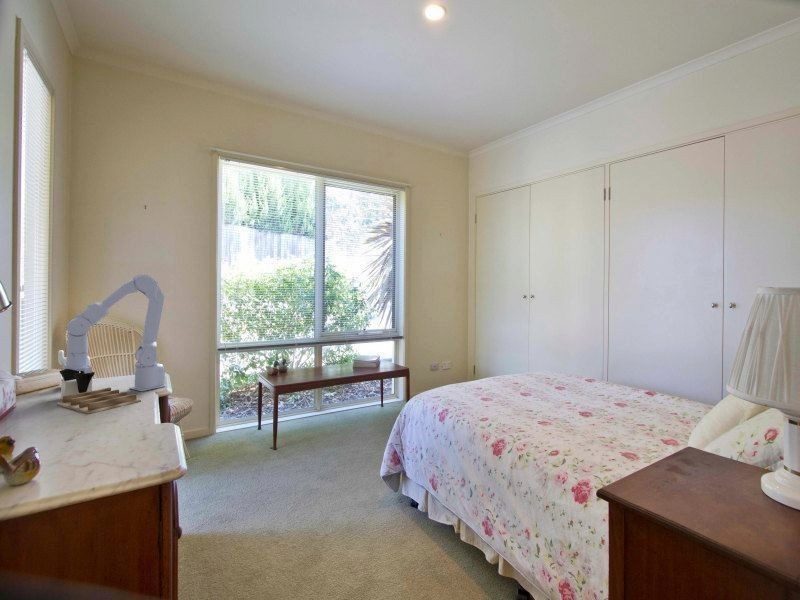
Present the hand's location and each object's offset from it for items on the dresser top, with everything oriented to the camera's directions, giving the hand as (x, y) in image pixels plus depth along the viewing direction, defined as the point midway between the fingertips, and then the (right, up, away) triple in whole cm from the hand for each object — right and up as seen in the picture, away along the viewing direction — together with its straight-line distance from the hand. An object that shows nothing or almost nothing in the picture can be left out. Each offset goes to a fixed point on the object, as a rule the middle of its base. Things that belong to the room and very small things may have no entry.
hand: (76, 390), depth 136 cm
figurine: (-11, -1, +12) cm, 16 cm away
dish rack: (+13, -3, -6) cm, 15 cm away
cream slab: (0, -2, 0) cm, 2 cm away
